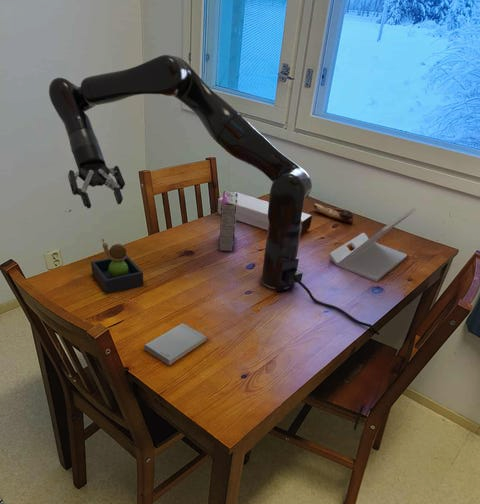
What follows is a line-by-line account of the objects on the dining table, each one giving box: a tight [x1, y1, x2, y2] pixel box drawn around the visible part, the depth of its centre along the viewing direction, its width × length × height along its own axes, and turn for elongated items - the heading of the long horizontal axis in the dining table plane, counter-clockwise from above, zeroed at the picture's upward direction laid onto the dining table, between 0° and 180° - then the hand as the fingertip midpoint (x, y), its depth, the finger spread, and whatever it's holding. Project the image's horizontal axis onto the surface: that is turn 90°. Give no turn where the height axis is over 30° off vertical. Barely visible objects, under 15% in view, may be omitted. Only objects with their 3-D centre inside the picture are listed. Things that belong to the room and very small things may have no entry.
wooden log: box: [313, 203, 354, 224], centre depth 183 cm, size 9×5×18 cm
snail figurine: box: [101, 238, 128, 278], centre depth 126 cm, size 5×6×12 cm
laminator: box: [216, 191, 313, 235], centre depth 170 cm, size 34×12×6 cm, turn 58°
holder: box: [90, 254, 144, 295], centre depth 129 cm, size 12×11×4 cm
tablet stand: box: [328, 208, 416, 282], centre depth 150 cm, size 18×25×17 cm
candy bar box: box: [218, 190, 239, 252], centre depth 150 cm, size 11×5×16 cm, turn 179°
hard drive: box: [143, 322, 207, 366], centre depth 108 cm, size 2×8×12 cm
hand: (104, 205), depth 125 cm, fingers open, 8 cm apart
